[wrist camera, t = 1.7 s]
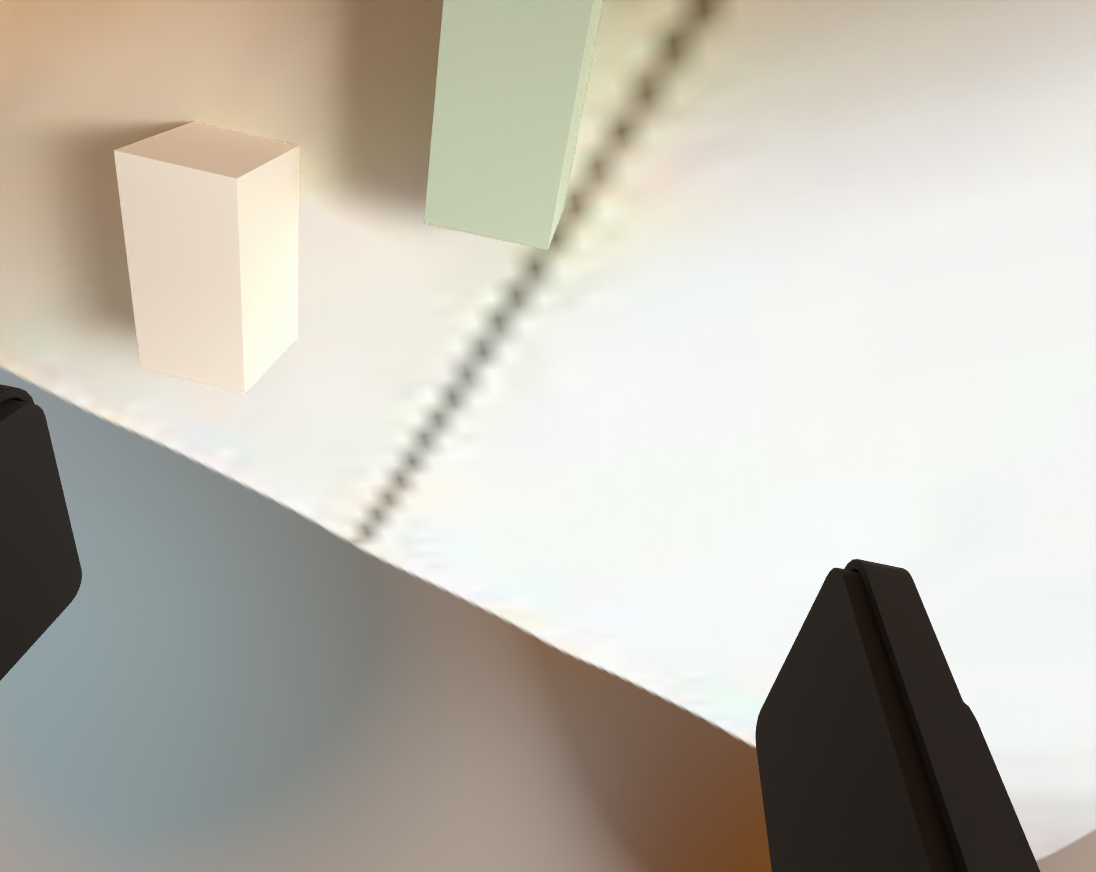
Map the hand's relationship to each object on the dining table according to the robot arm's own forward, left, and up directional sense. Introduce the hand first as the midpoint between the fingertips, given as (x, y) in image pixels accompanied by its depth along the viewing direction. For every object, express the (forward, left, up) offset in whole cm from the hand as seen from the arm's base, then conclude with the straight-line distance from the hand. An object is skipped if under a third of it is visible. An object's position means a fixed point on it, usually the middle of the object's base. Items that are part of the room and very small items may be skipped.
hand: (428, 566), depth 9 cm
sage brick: (-2, -2, -22) cm, 22 cm away
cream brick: (+6, -12, -22) cm, 26 cm away
